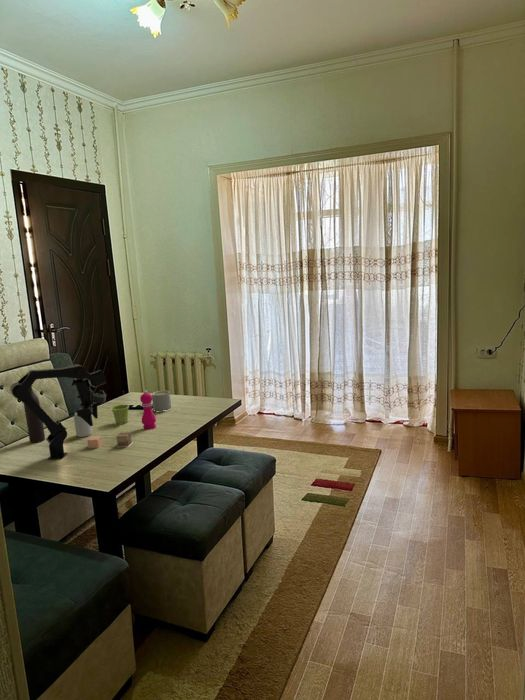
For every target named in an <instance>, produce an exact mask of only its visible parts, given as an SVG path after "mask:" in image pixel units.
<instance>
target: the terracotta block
mask: <svg viewBox="0 0 525 700" xmlns="http://www.w3.org/2000/svg"><path fill="white" fill-rule="evenodd" d="M86 443H87V448H88V449H95V448H96V449H97V448H98V449H99V448H100V447H101V446H102V445H104V440H103V436H102V435H94V436H93V435H92V436H90V437H89V438H88V439H87V442H86Z"/></svg>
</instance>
